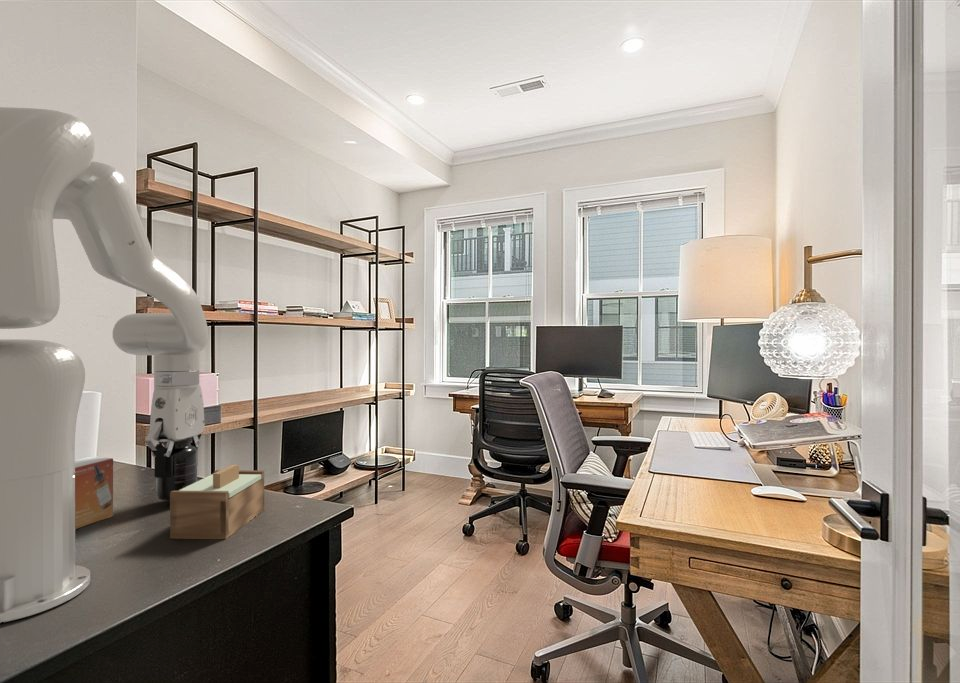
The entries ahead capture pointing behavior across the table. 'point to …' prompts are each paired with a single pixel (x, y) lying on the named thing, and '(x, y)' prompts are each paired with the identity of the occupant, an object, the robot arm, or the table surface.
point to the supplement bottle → (179, 469)
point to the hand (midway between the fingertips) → (177, 471)
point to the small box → (93, 490)
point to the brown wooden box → (214, 511)
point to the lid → (225, 481)
